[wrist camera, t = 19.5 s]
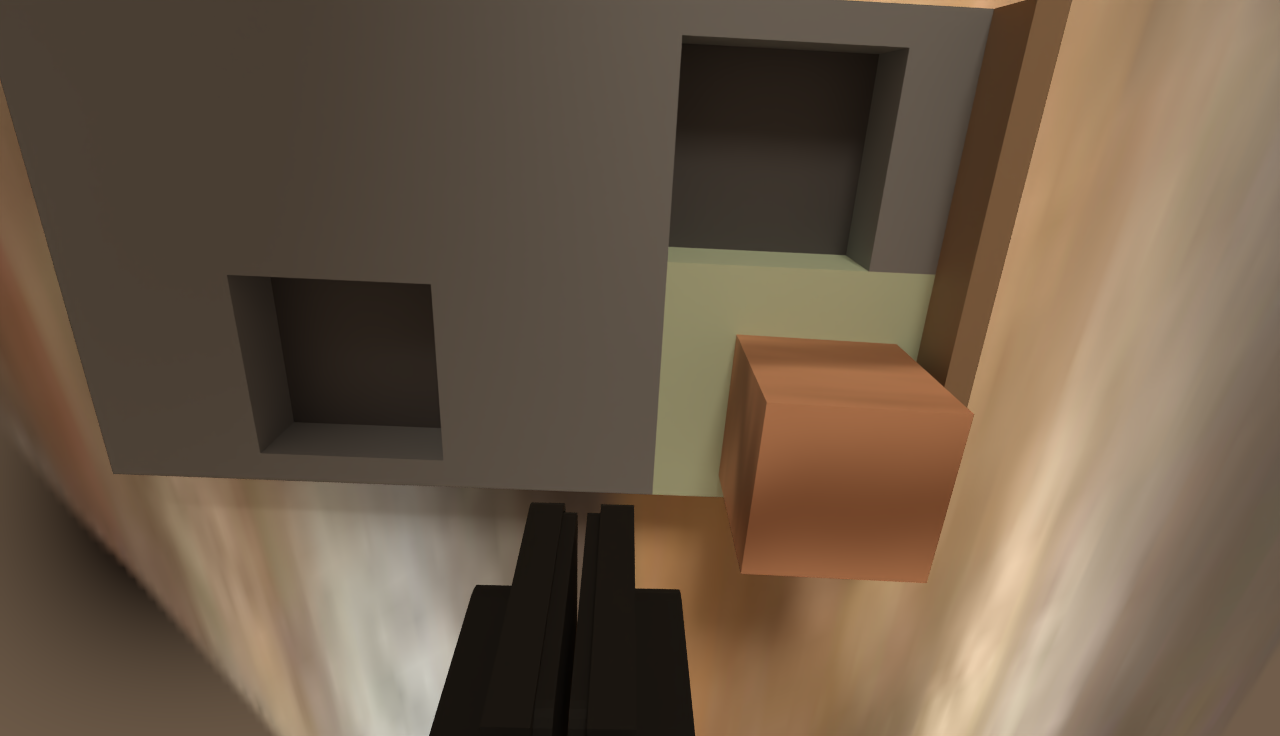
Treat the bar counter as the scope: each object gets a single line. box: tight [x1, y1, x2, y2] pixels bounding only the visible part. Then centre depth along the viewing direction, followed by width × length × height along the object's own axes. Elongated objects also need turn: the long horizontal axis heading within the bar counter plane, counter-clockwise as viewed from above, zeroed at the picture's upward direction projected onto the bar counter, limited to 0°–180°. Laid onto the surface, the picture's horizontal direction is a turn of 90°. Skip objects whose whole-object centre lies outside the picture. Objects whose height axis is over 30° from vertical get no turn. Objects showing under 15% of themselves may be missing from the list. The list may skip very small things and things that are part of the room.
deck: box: [0, 0, 1072, 497], centre depth 20 cm, size 15×27×4 cm, turn 87°
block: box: [719, 334, 974, 583], centre depth 19 cm, size 5×5×5 cm
